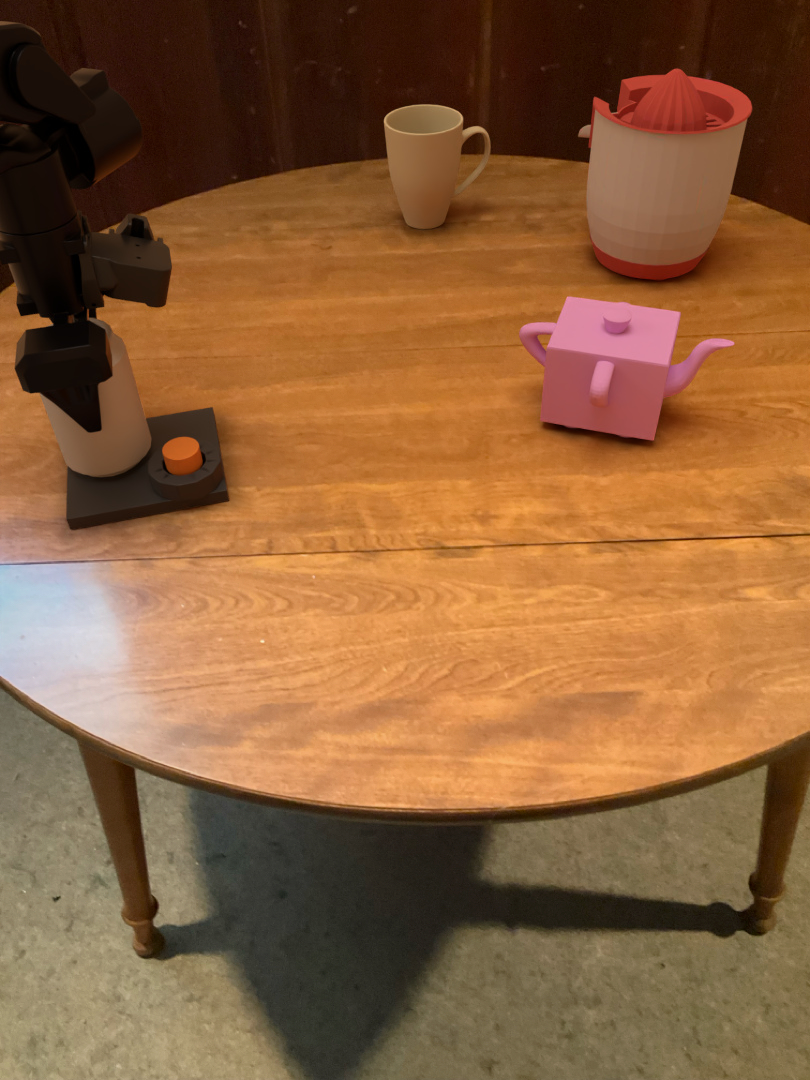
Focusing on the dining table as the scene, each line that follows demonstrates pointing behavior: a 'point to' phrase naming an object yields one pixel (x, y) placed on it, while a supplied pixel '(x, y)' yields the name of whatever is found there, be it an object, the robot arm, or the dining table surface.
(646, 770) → the dining table surface
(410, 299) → the dining table surface
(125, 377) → the can
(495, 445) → the dining table surface
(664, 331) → the teapot
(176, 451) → the button
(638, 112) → the citrus juicer
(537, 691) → the dining table surface
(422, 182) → the mug
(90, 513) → the dark grey flat block
